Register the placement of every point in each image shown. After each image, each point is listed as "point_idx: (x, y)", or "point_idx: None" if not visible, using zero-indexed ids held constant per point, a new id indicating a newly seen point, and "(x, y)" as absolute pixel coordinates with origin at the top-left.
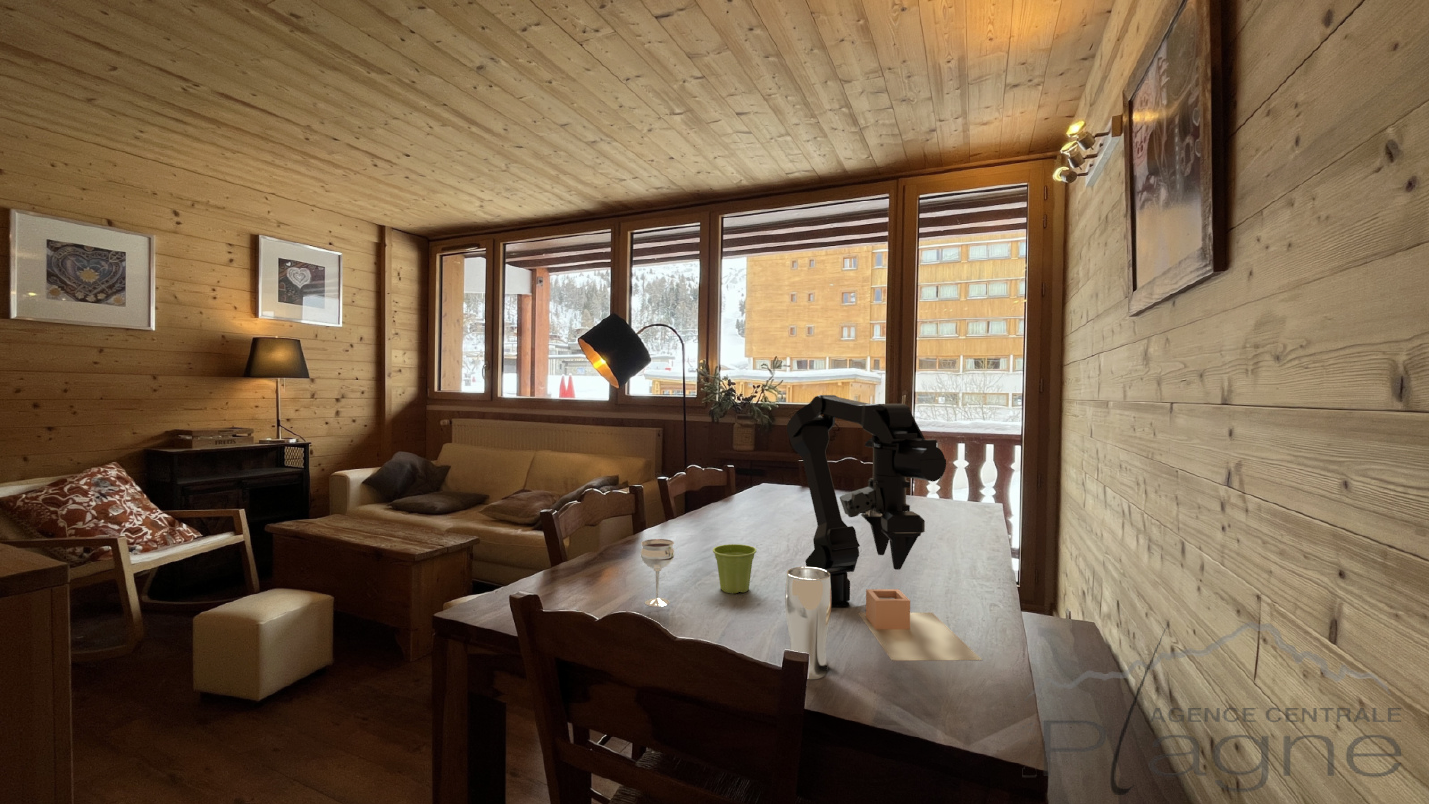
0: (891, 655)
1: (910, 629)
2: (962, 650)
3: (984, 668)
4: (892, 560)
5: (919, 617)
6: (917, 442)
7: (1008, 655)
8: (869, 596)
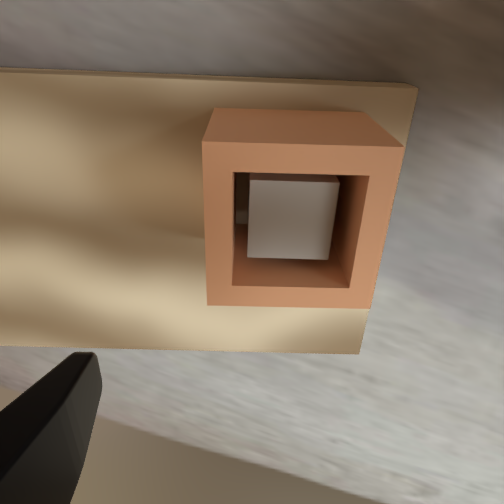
0: None
1: None
2: (54, 325)
3: None
4: (53, 400)
5: None
6: None
7: (114, 406)
8: (329, 139)
